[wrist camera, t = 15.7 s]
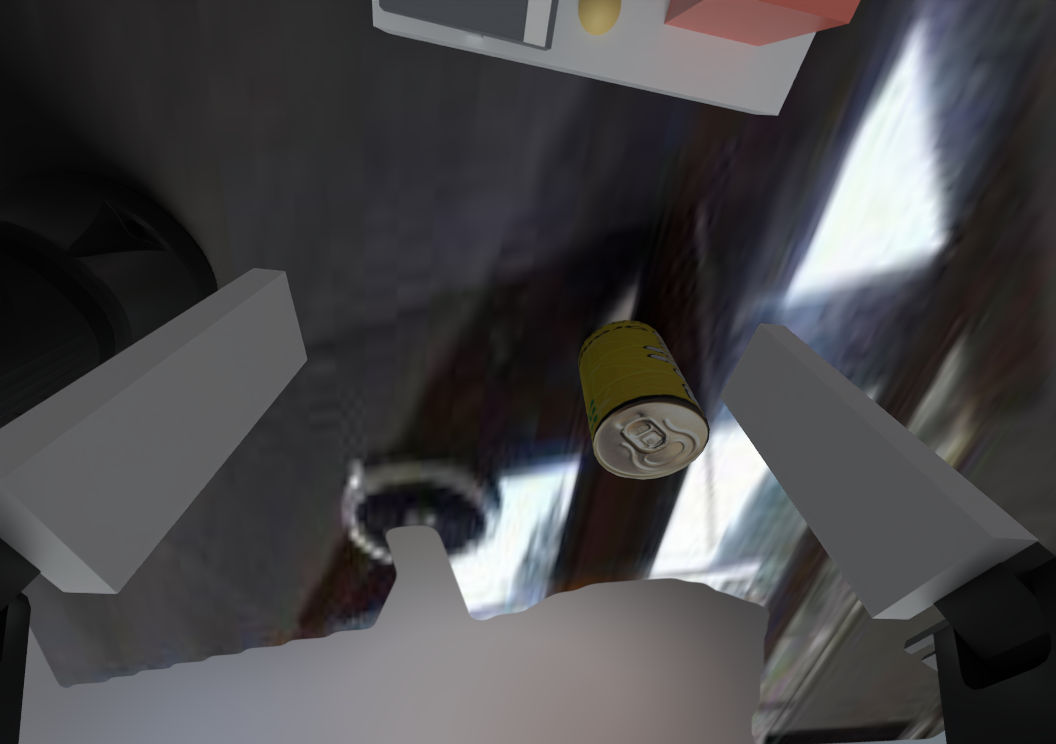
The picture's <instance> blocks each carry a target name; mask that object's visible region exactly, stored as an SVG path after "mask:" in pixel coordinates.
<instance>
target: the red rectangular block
mask: <svg viewBox="0 0 1056 744" xmlns="http://www.w3.org/2000/svg"><path fill="white" fill-rule="evenodd" d="M859 2H860V0H671V1H670V5H669V8H668V12H667V15H666V19H665V22H664V24H666V25H670V26H674V27H679V28H683V29H687V30H691V31H695V32H700V33H704V34H708V35H712V36H717V37H721V38H725V39H729V40H733V41H738V42H742V43H746V44H750V45H755V46H762V45H766V44H770V43H774V42H778V41H782V40H785V39H789V38H793V37H797V36H801V35H805V34H809V33H813V32H817V31H821V30H824V29H828V28H832V27H836V26H840V25H844V24H848V23H849V22H850V20H851V18H852V16H853V14H854V12H855V10H856V8H857V6H858V4H859Z"/></svg>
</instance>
